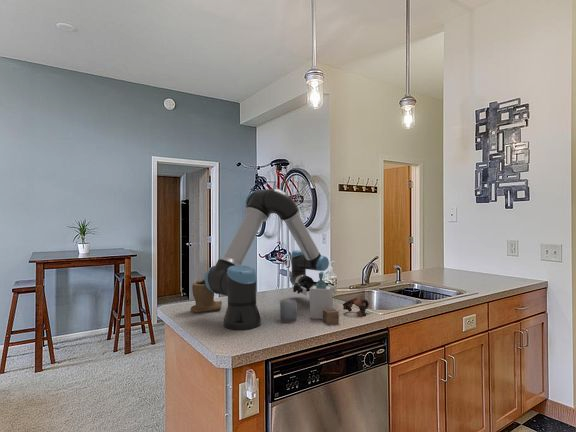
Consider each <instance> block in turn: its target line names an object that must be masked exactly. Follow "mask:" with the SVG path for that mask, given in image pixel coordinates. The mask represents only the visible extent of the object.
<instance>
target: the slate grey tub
mask: <svg viewBox="0 0 576 432" xmlns="http://www.w3.org/2000/svg"><path fill="white" fill-rule="evenodd" d="M297 309H298V308H297V300H296V299H293V298H289V299H288V298H287V299H281V300H280V301H279V311H280V312H279V313H280V314H279V317H280V322H282V321H283V323H294V322H296V321H297V320H298V318H297V317H298V315H297V314H298V312H297V311H298V310H297Z"/></svg>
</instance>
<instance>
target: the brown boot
mask: <svg viewBox="0 0 576 432" xmlns="http://www.w3.org/2000/svg"><path fill="white" fill-rule="evenodd" d="M191 290H192V296H193V298H194V302H195V304H194V305H192V306H191V307H190V311H191V312H193V313H203V312H211V311H217V310H221V309H222V303H223V301H222V300H220V301H215V293H214V292H211V291H210V290H209V289H208V288H207V287H206V284H205V278H203V279H201V280H196V281H194V282H193V283H192V286H191Z"/></svg>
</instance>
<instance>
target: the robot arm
mask: <svg viewBox="0 0 576 432" xmlns="http://www.w3.org/2000/svg"><path fill="white" fill-rule="evenodd" d="M244 203H245V210H244V211H245V216H244V218H243V220H242V222H241V223H240V225H239V227H238V229H237V231H236V233H235V235H234V237H233V239H231V242H230V244H229V247H228V248H227V250H226V252H225V254H224V255H223V257H221V258H218V260H217V262H216V264H215V265H213V266H211V267H209V268H208V269H207V270H206V272H205V275H204V279H205V284H206V287H207V288H208V289H209V290H210V291H211V292H214V294H216V295H221V296H226V297H227V308H226V311H225V315H224V317H223V327H224V328H225V329H228V330H235V331H237V330H250V329H251V330H252V329H255V328H257V327H259V326H261V325H262V318H261V315H260V311H259V308H258V305H257V274H256V273H257V272H256V270H255V268H253V267H251V266H248V265H242V264H243V262H244V260H245V258H246V256H247V254H248V253H249V250H250V248H251V246H252V244H253V242H254V240H255V238H256V236H257V234H258V233H259V230H260V228H261V226H262V224H263V222H264V223H265V222H267V221H268V219H269V218H270V215H271V214H276V216H278V217H279V220H281V221H283V222H284V223H285V225H286V227H287V228H288V231H289V232H290V233H291V235H292V237H293V239H294V241H295V242H296V244H297V245H298V248H299V249H296V250H292V251H291V257H290V260H291V274H290V275H289V281H290V283H291V284H292V285H293V286H292V287H293V288H292V290H293V293H296V292H297V293H296V294H298V295H299V294H303V295H304V296H307V292H310V288H311V287H312V286H313V285H316V284H317V283H318V281H315V280H314V279H313V278H312V276H308V275H307V271H306V270H311V271H316V272H324V271H326V270H327V269H328V268H329V265H330V261H329V259H328V257H327V256H325V255H321V253H320V251H319V249H318V247H317V245H316V244H315V242H314V240H313V238H312V236H311V235H310V232H309V231H308V229H307V227H306V225H305V224H304V222H303V219H302V218H301V216H300V214H299V208H298V206H297V205H296V203H295V202H294V200H293V198H292V197H291V196H290V195H288V194H287V192H285V191H284V190H282V189H280V188H267V189H266V188H265V189H256V190H253V191H251V192H250V193H249V194H248V195H247V196H246V198H245V202H244ZM324 283H325V284H326V285H332V294H335V293H336V286H335V283H332V282H325V281H324Z"/></svg>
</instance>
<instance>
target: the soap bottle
mask: <svg viewBox="0 0 576 432" xmlns="http://www.w3.org/2000/svg"><path fill="white" fill-rule="evenodd" d="M324 273H325V272H324V271H319V272H318V279H319V280H317V282H318V283H317V284H316V285H313V286H312V287H311V288H310V291H309V318H310V319H317V320H323V309H334V308H333V307H334V306H333V305H334V304H333V302H334V301H333V297H334V296H333V292H332V285H326V284H325V283H324V282H325V280H323V278H324Z"/></svg>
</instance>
